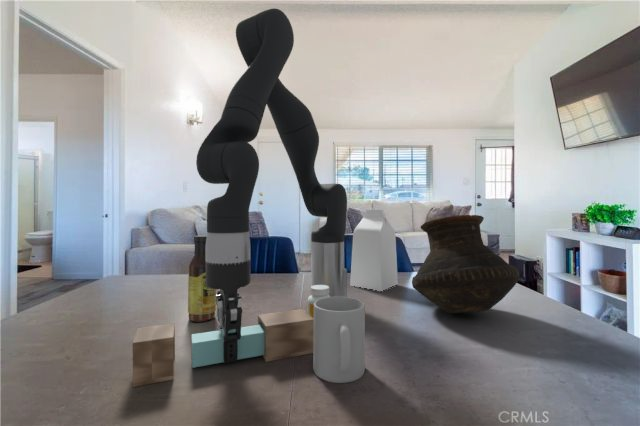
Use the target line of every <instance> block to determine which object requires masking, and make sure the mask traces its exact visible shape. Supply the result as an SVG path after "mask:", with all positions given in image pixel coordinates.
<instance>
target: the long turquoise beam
mask: <svg viewBox="0 0 640 426" xmlns="http://www.w3.org/2000/svg"><path fill="white" fill-rule="evenodd" d="M232 332H235V329H233V330H229V331H228V333H232ZM222 336H223V330H222V329H219V330H212V331H206V332H198V333H191V368H197V367H198V368H199V367H200V368H201V367H205V366H210V365H215V364H220V363H225V362H224V350H223V339H222ZM237 354H238V358H237V361H239V360H243V359H249V358H255V357H259V356H260V357H261V356H263V355H265V328H264V326H263V325H262V324H260V325H258V324H255V325H249V326H247V325H246V326H241V337H240V340H237Z"/></svg>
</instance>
